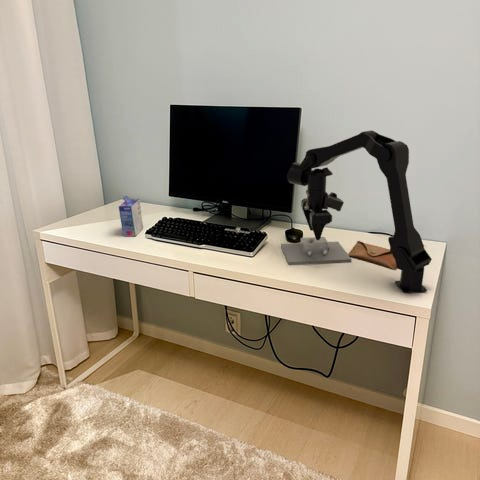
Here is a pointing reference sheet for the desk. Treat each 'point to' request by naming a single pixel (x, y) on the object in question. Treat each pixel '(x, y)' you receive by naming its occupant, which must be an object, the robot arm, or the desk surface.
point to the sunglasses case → (373, 255)
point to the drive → (314, 245)
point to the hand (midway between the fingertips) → (314, 234)
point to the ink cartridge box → (131, 217)
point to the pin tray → (333, 256)
